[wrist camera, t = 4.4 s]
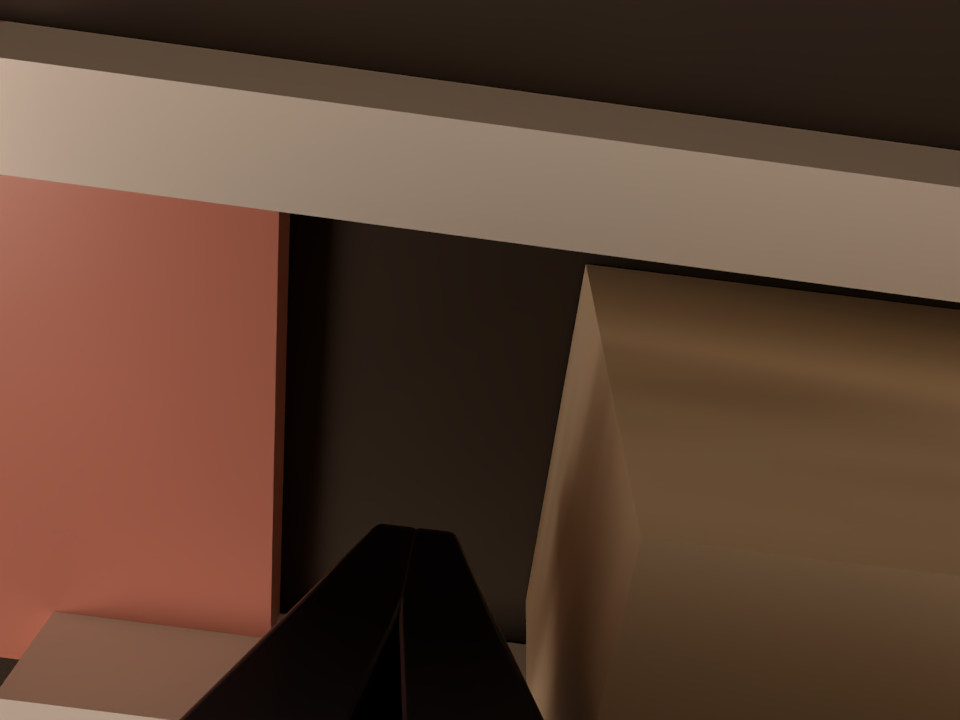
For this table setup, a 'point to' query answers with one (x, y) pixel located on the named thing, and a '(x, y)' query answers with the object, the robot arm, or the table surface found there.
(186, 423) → the channel
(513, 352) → the table surface
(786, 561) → the pine block
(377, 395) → the table surface
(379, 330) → the table surface
